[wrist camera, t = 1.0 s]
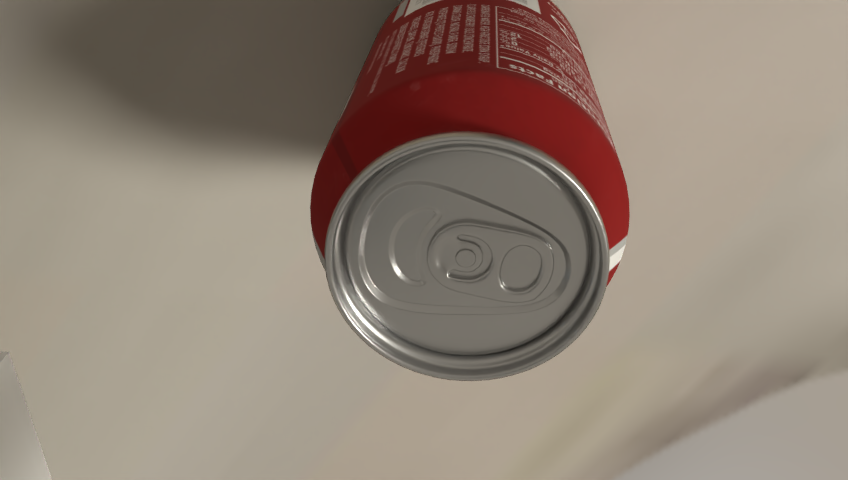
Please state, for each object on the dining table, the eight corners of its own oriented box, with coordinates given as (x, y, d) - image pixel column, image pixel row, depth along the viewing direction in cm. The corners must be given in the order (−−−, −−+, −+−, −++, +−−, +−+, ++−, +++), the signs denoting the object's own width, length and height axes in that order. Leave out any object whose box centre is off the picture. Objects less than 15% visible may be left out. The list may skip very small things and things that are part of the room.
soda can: (390, -55, 24) (314, 66, 14) (609, -8, 24) (697, 147, 14) (356, 149, 28) (274, 371, 17) (549, 189, 28) (585, 432, 17)
